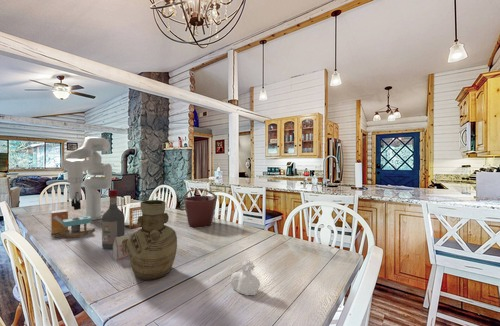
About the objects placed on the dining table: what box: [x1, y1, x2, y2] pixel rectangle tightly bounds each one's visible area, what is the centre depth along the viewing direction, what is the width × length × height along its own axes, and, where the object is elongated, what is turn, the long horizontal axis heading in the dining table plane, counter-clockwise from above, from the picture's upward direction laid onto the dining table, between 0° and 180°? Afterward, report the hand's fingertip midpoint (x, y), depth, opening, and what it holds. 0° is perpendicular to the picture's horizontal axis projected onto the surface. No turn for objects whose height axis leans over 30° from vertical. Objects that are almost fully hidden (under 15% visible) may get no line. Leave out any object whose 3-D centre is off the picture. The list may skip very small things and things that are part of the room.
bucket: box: [182, 188, 218, 228], centre depth 167 cm, size 24×22×25 cm
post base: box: [54, 216, 96, 239], centre depth 143 cm, size 14×14×10 cm
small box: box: [50, 209, 69, 235], centre depth 147 cm, size 8×6×13 cm
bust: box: [230, 259, 261, 296], centre depth 86 cm, size 12×8×11 cm
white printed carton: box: [112, 234, 131, 261], centre depth 112 cm, size 4×7×10 cm, turn 147°
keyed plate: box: [63, 216, 92, 228], centre depth 144 cm, size 14×6×3 cm, turn 134°
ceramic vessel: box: [122, 199, 178, 281], centre depth 97 cm, size 19×21×30 cm
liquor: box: [101, 189, 125, 250], centre depth 125 cm, size 9×9×30 cm
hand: (76, 207), depth 144 cm, fingers open, 9 cm apart
